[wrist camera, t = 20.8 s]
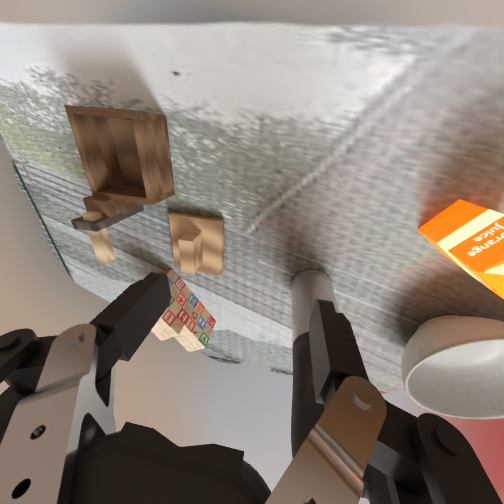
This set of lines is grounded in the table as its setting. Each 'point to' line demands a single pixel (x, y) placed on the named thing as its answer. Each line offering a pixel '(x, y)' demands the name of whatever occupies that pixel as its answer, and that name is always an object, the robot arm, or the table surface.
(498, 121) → the table surface
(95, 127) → the brown wooden box
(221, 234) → the lid
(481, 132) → the table surface
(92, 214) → the light wooden plank
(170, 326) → the stack of blocks
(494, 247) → the orange juice
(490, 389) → the decorative bowl
